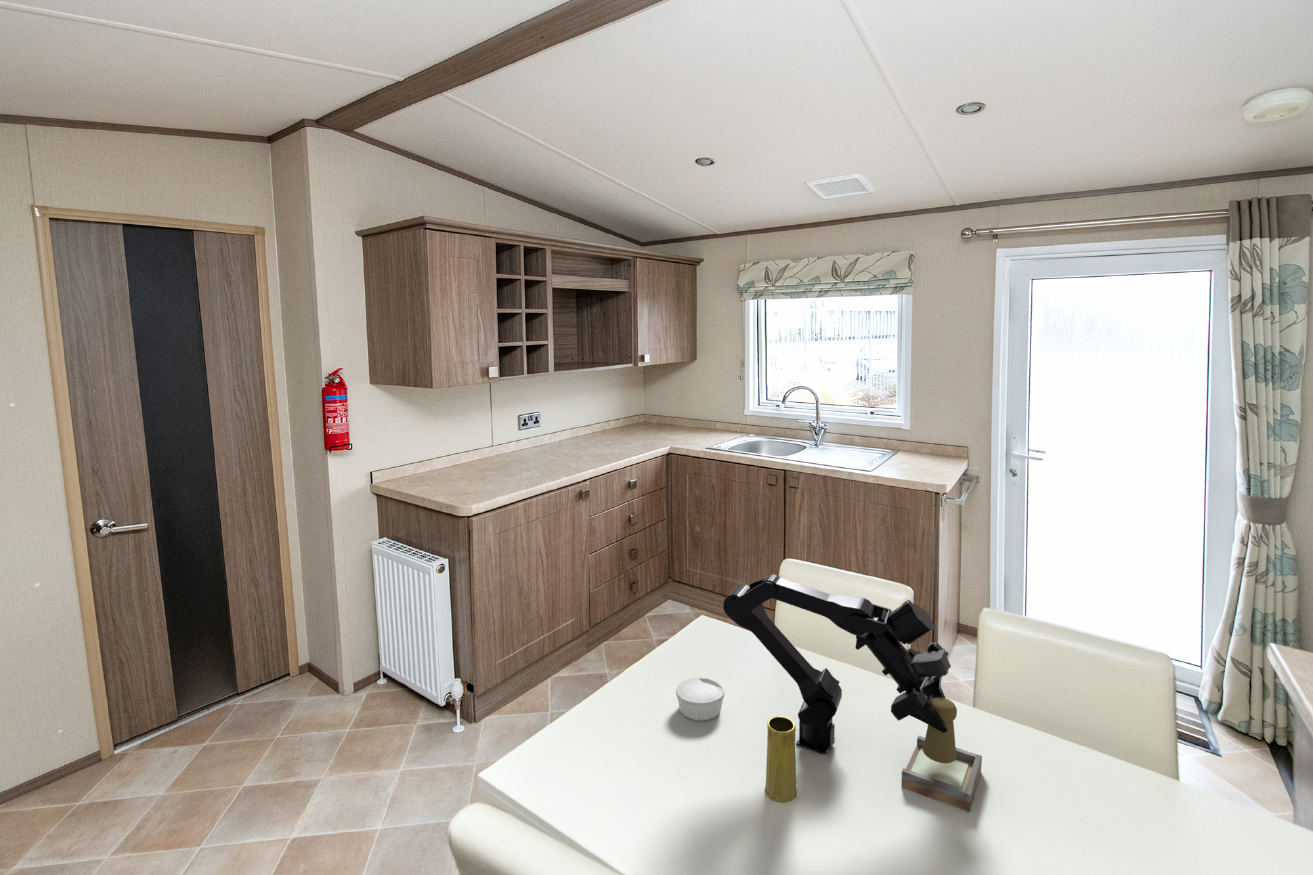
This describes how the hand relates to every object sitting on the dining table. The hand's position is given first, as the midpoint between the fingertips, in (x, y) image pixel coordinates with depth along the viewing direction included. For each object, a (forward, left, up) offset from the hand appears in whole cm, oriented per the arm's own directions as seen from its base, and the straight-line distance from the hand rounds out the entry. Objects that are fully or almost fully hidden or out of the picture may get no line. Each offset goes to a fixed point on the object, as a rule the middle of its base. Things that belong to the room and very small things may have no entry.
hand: (948, 724), depth 124 cm
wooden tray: (-1, 0, -12) cm, 12 cm away
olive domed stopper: (-1, 0, -7) cm, 7 cm away
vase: (-26, -20, -12) cm, 35 cm away
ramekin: (-53, -5, -12) cm, 54 cm away
